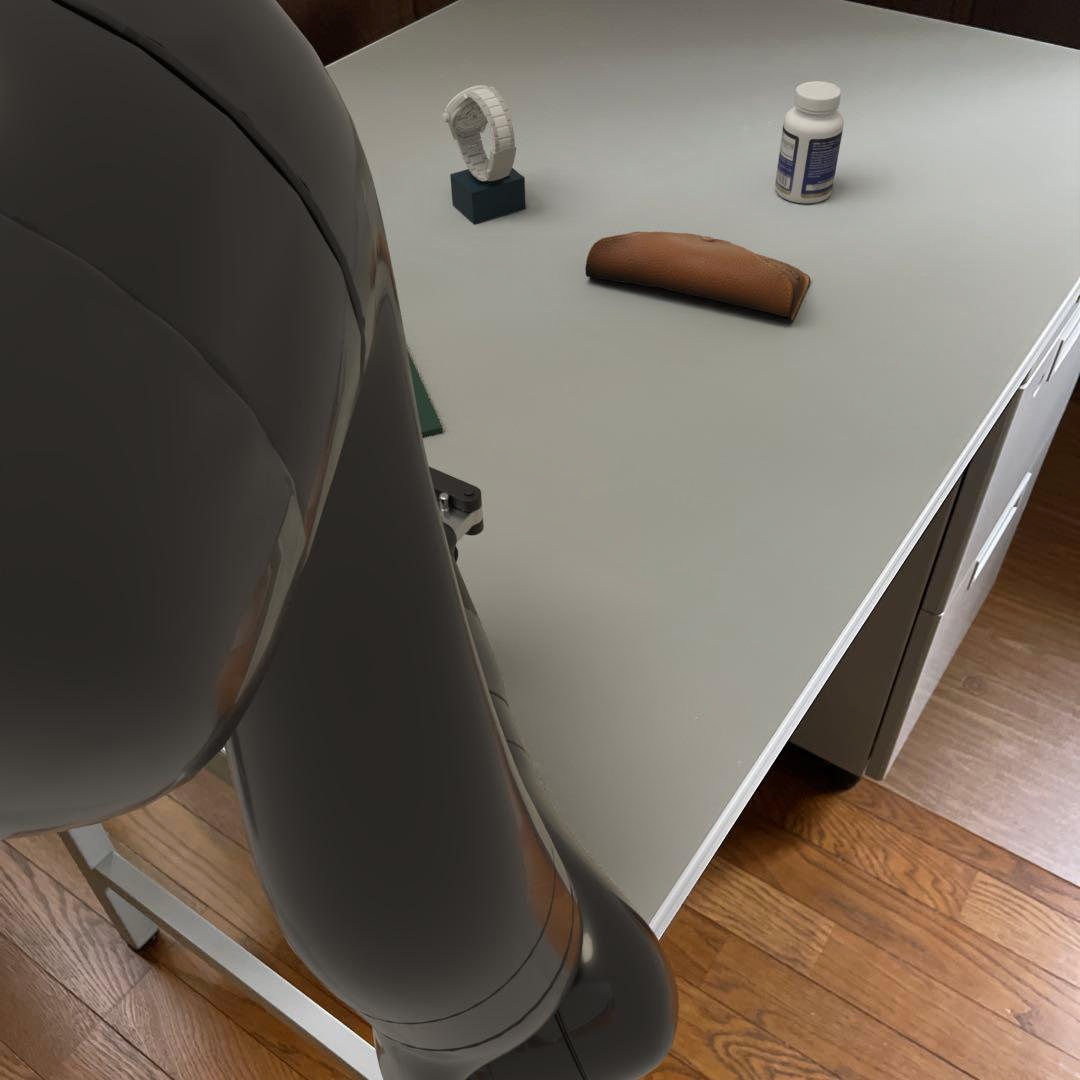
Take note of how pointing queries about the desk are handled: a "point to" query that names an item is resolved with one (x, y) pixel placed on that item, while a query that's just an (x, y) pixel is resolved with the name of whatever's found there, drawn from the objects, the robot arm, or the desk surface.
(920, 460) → the desk surface
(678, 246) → the sunglasses case
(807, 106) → the pill bottle
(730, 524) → the desk surface
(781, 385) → the desk surface
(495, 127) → the watch
